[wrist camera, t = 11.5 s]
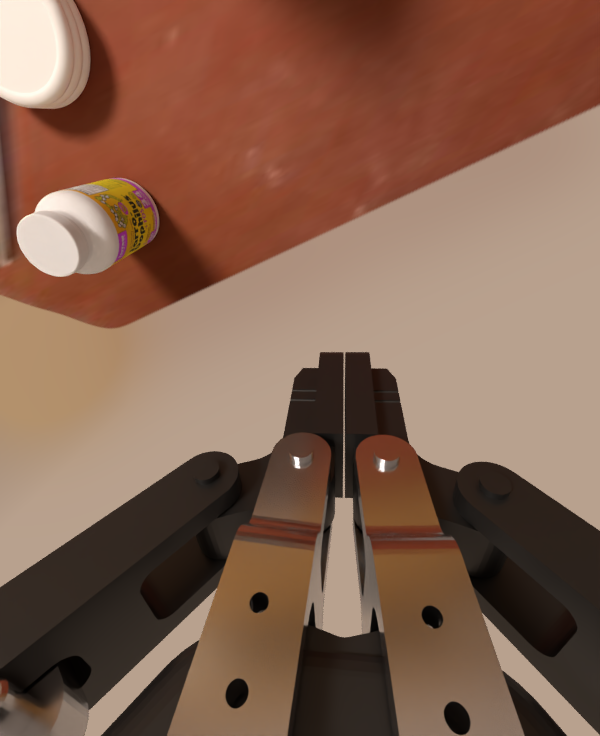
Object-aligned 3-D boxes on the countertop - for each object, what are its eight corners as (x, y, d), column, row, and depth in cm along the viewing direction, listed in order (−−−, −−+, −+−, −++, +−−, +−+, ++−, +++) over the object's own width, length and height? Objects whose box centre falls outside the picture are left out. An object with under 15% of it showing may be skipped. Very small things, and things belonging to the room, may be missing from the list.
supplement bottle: (165, 247, 40) (101, 294, 29) (106, 241, 40) (21, 285, 29) (156, 179, 36) (78, 204, 25) (91, 172, 36) (-13, 195, 26)
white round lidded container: (117, 65, 31) (94, 59, 28) (44, 132, 35) (17, 133, 32) (20, -89, 27) (-19, -114, 24) (-53, 5, 30) (-95, -7, 27)
